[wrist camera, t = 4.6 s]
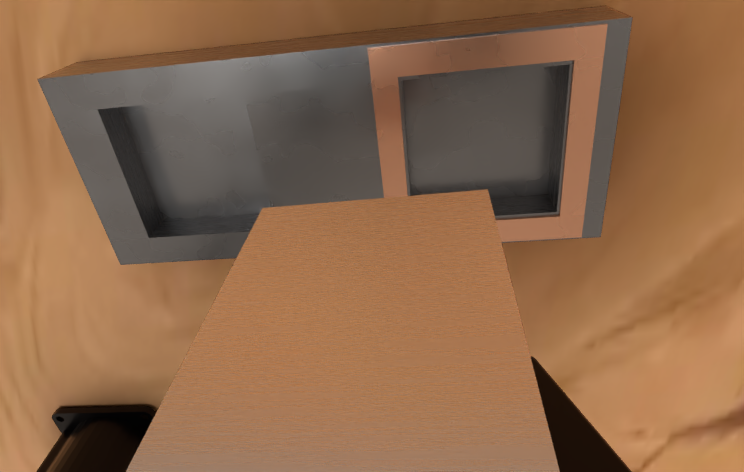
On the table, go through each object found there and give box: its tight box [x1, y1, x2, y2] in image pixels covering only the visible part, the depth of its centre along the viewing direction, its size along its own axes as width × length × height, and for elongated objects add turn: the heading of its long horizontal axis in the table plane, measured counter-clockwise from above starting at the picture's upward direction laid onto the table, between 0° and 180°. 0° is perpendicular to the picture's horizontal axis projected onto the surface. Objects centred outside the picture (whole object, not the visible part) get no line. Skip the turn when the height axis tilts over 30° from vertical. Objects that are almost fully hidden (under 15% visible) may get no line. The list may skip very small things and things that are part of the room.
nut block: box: [126, 189, 560, 472], centre depth 8 cm, size 4×4×7 cm
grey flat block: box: [38, 6, 632, 265], centre depth 20 cm, size 20×8×3 cm, turn 96°
